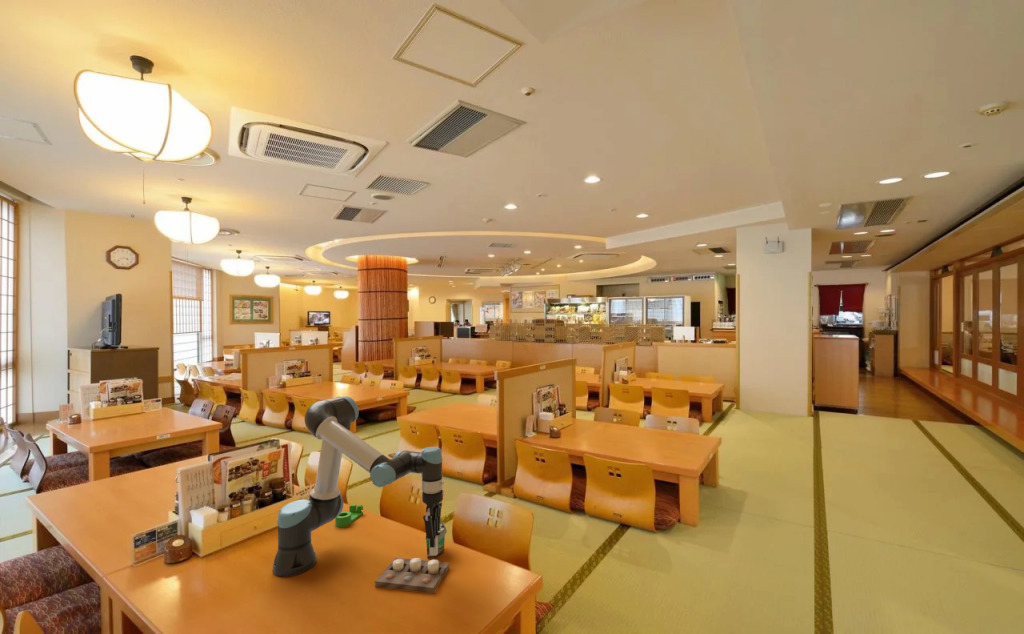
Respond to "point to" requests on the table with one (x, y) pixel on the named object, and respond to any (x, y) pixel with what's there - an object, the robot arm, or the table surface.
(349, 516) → the green ring bracket
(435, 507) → the robot arm
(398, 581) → the board
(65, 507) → the table surface
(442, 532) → the food container
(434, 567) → the button right
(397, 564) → the button left
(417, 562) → the button mid
